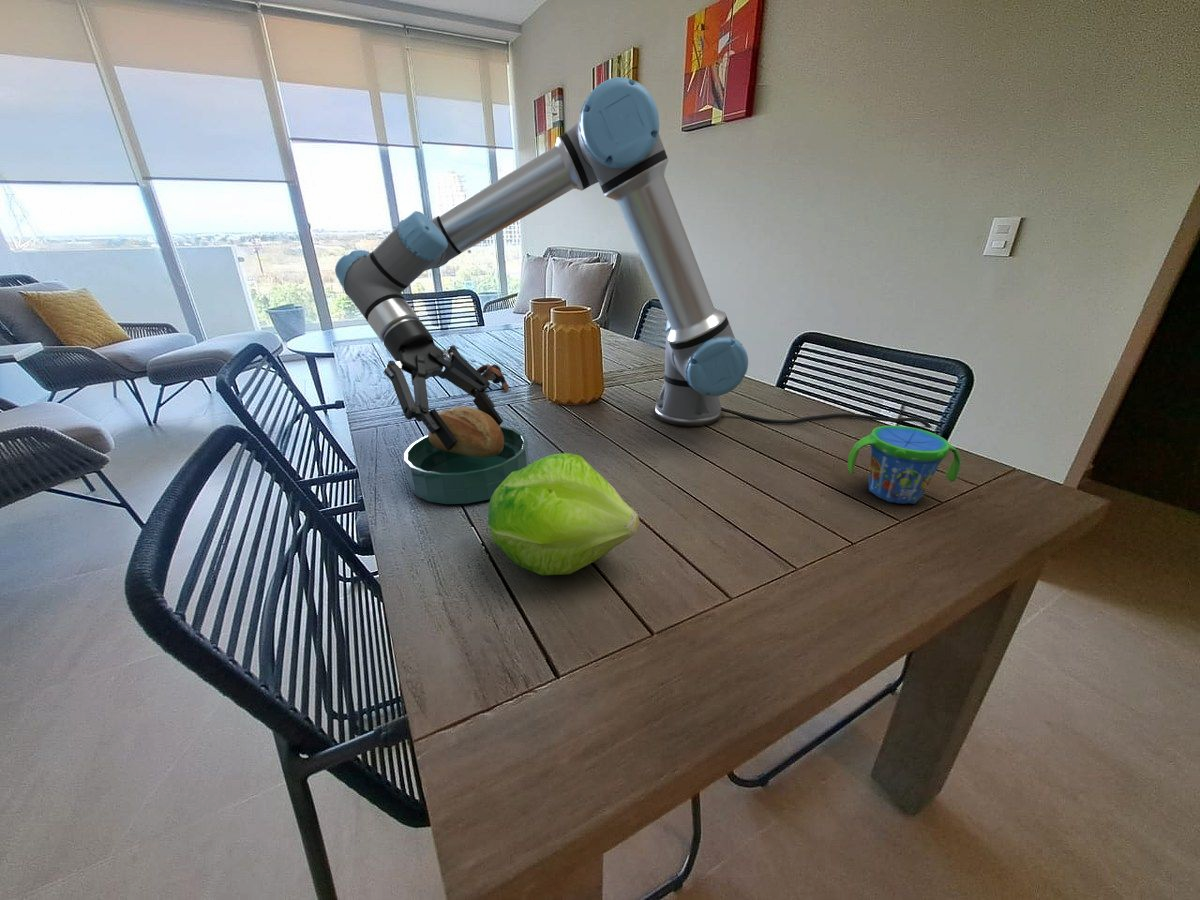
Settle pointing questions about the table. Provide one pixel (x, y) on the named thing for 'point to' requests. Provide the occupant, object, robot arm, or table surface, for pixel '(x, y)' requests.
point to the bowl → (462, 470)
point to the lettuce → (558, 515)
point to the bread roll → (471, 432)
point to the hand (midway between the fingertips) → (476, 435)
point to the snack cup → (904, 461)
